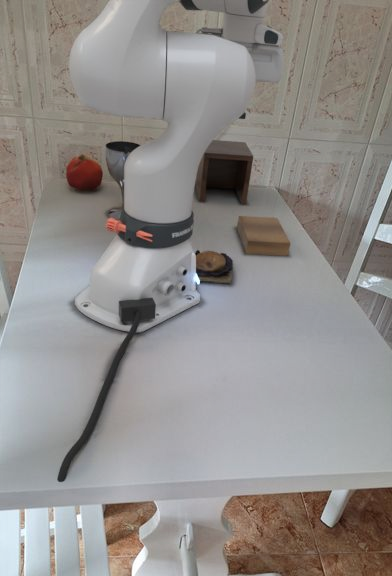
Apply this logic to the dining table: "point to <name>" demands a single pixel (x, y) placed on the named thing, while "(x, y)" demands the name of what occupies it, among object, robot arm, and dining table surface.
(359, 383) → the dining table surface
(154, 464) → the dining table surface
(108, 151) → the wine glass
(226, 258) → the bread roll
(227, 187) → the open box
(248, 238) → the brown wooden block
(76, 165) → the red pomegranate
